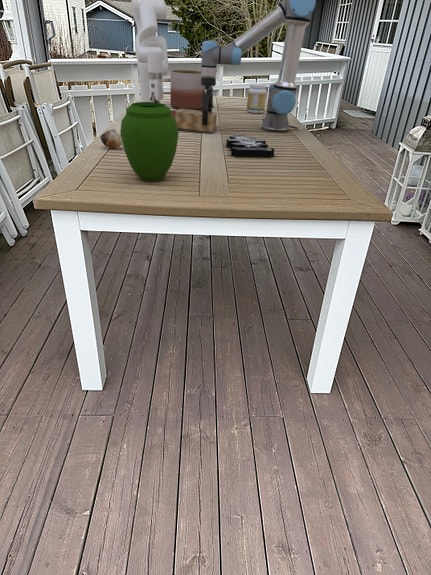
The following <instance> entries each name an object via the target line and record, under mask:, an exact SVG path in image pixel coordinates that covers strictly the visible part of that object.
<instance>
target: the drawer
mask: <svg viewBox="0 0 431 575" xmlns="http://www.w3.org/2000/svg"><path fill="white" fill-rule="evenodd" d="M176 111H177V110H172V109H171V115H172V116H173V118H174V119H175V115H176Z"/></svg>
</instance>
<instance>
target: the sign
mask: <svg viewBox="0 0 431 575" xmlns="http://www.w3.org/2000/svg"><path fill="white" fill-rule="evenodd" d="M225 144H226V148H229V151H230V155H231V156H233V157H235V158H272V157H274V156H275V148H274V147H269V144H268V143H267V140H265V139H262V138H260V139H258V138H256V137H250V136H245V134H238V135H237V134H234V135H229V137H228V138H226V143H225Z"/></svg>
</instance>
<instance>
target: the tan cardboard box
mask: <svg viewBox="0 0 431 575" xmlns="http://www.w3.org/2000/svg"><path fill="white" fill-rule="evenodd" d="M175 111H176V115H175V120H176V123H177V128H178V131H185V132H192V133H201V134H209V135H210V134H211V135H213V133H215V131H216V130H217V117H218V112H216V111H212V112H208V120H207V125H202V112H201V110H189V109H177V110H175Z"/></svg>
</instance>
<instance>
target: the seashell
mask: <svg viewBox="0 0 431 575" xmlns="http://www.w3.org/2000/svg"><path fill="white" fill-rule="evenodd" d="M100 140H101V143H102V144H103V145H104V146H105V147H107V148H110V149H116V148H119V147H120V146H122V145H123V142H122V138H121V134H119V133H118V132H117V131H116V129H114V128H112V129H109V130H106V131H104V132H103V133H102V134H101V135H100Z"/></svg>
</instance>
